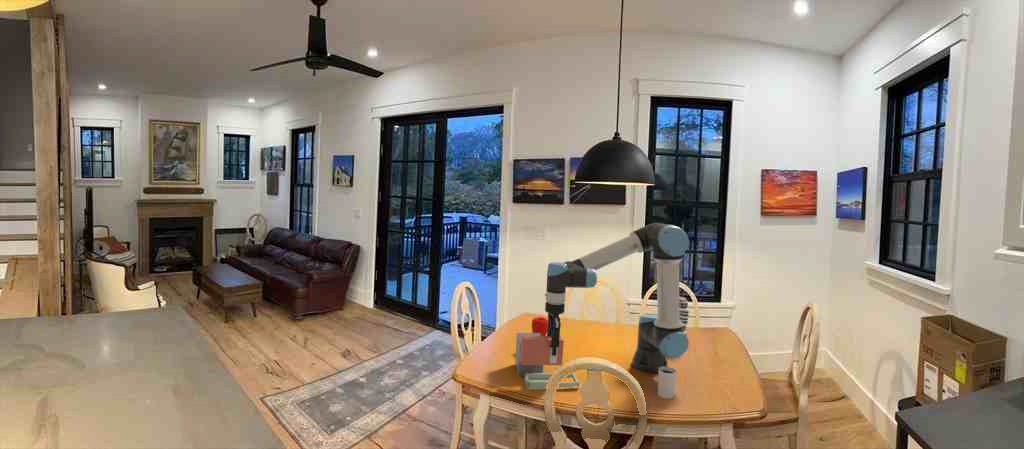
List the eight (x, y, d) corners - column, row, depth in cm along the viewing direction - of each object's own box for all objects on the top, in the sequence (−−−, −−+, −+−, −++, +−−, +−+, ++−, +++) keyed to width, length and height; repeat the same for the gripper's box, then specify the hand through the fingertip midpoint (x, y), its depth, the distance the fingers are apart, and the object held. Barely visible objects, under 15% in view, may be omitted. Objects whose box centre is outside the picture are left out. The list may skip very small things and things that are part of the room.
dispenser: (539, 364, 202) (541, 333, 201) (544, 376, 190) (546, 343, 189) (515, 364, 201) (516, 332, 200) (518, 376, 189) (520, 342, 188)
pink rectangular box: (559, 360, 185) (561, 336, 184) (561, 365, 180) (563, 340, 179) (519, 359, 183) (521, 335, 182) (521, 364, 178) (523, 339, 177)
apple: (542, 342, 230) (543, 321, 229) (527, 338, 235) (528, 318, 234) (550, 337, 238) (551, 317, 237) (536, 334, 242) (537, 314, 242)
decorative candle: (667, 347, 231) (670, 298, 228) (666, 341, 239) (670, 294, 237) (686, 350, 228) (690, 300, 226) (685, 344, 237) (689, 296, 235)
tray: (573, 379, 188) (573, 373, 188) (578, 389, 179) (579, 382, 179) (524, 379, 186) (524, 373, 186) (527, 389, 177) (527, 383, 177)
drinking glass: (658, 398, 174) (659, 372, 173) (655, 390, 181) (657, 365, 180) (676, 400, 173) (678, 374, 172) (673, 392, 180) (675, 367, 179)
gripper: (541, 296, 188) (538, 351, 190) (549, 308, 170) (546, 369, 172) (559, 296, 189) (556, 351, 191) (569, 308, 171) (565, 369, 173)
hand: (551, 359), depth 182 cm, fingers closed on pink rectangular box, 5 cm apart
